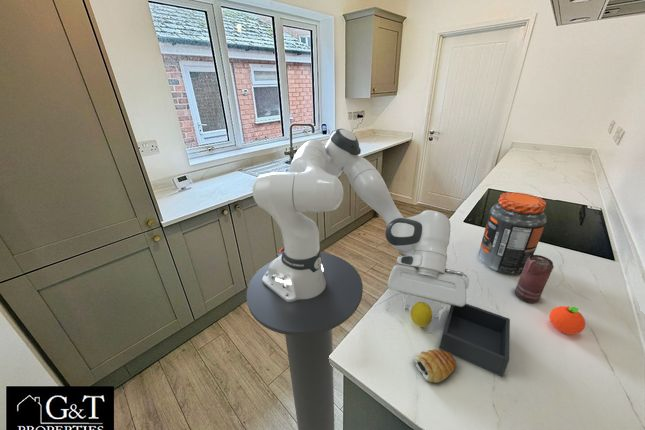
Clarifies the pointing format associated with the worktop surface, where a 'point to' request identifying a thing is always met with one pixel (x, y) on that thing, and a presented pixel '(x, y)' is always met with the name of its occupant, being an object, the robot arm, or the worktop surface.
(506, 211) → the supplement tub
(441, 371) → the pastry
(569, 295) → the worktop surface
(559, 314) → the clementine
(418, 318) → the lemon
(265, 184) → the robot arm
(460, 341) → the bin
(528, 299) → the dark red glass cylinder
